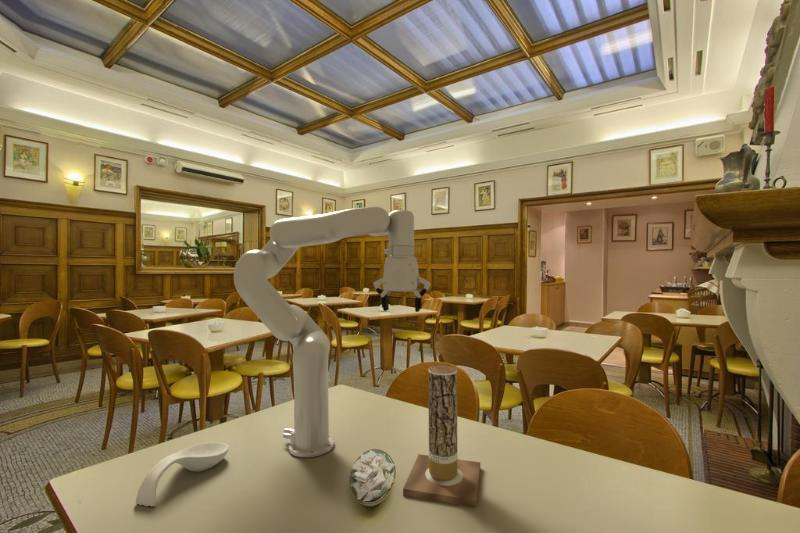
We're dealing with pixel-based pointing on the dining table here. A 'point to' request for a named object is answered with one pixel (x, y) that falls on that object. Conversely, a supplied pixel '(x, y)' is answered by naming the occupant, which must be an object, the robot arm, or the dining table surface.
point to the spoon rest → (189, 458)
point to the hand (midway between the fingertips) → (401, 310)
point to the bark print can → (442, 422)
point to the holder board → (444, 483)
